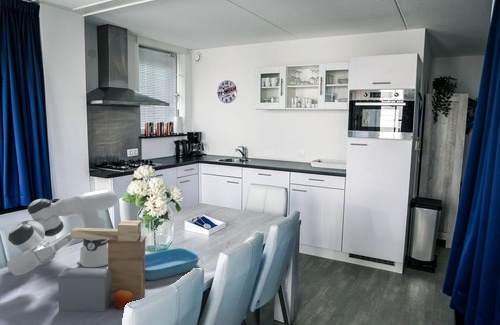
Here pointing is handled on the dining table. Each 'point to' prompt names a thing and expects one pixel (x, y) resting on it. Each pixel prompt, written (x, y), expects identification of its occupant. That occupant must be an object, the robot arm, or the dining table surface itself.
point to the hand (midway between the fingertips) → (72, 236)
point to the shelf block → (127, 266)
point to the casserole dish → (169, 263)
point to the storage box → (84, 289)
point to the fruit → (122, 298)
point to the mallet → (110, 232)
